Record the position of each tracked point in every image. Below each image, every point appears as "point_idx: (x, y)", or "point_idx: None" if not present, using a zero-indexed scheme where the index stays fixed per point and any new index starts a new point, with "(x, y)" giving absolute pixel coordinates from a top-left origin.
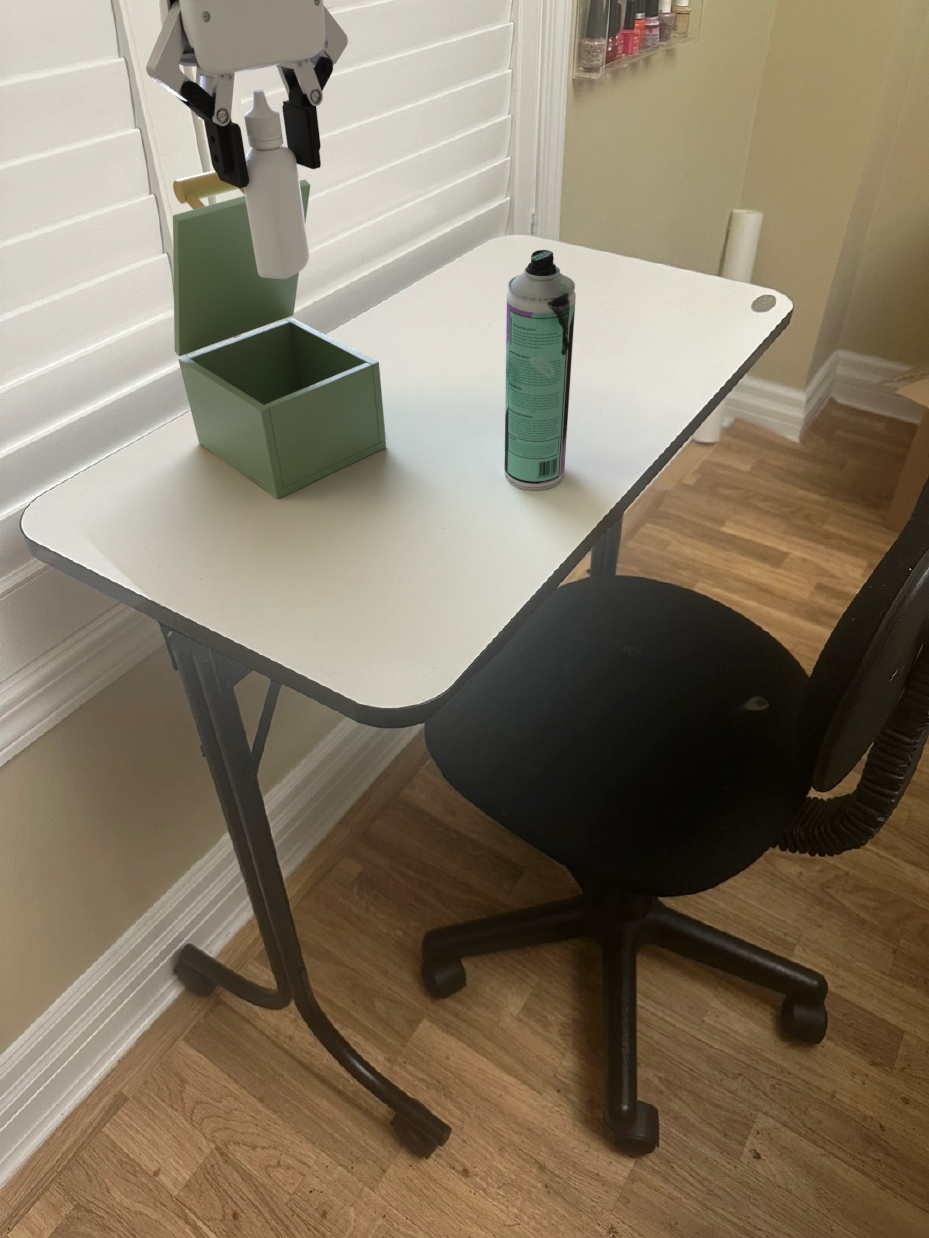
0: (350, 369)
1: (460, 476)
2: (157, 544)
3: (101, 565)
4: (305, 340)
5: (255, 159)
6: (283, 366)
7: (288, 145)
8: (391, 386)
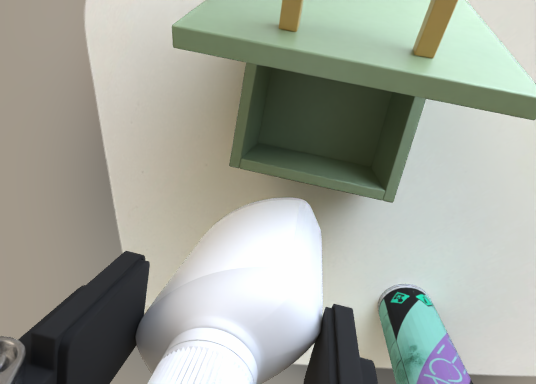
0: (358, 186)
1: (368, 257)
2: (146, 108)
3: (102, 91)
4: None
5: (158, 362)
6: None
7: (326, 330)
8: None
